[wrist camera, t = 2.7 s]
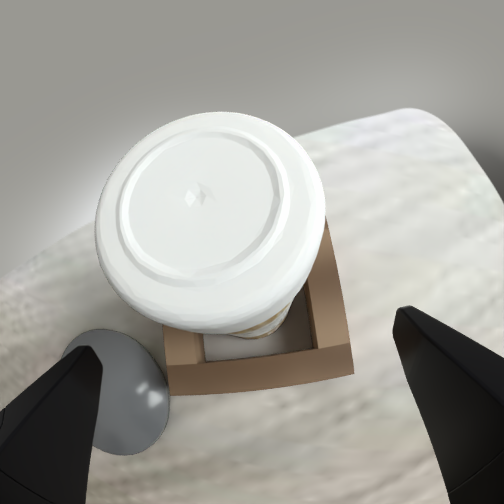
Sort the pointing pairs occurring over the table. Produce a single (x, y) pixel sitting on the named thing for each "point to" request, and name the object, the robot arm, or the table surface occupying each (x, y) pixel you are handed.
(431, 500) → the table surface
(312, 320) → the square wooden frame
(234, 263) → the sprinkles bottle
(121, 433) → the coaster
